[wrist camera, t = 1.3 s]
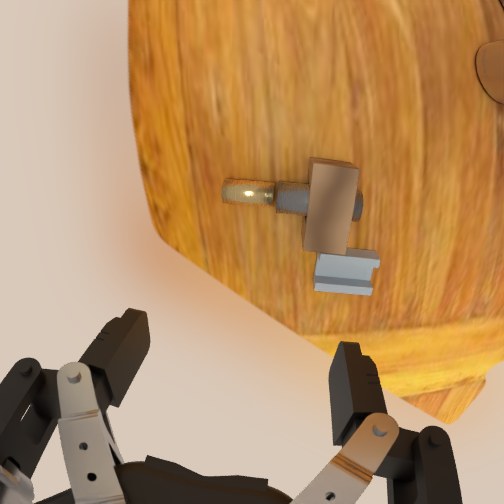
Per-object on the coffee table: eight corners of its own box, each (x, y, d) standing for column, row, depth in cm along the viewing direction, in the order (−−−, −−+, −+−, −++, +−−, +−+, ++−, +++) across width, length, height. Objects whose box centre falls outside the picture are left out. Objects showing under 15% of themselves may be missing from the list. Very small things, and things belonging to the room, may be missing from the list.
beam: (350, 162, 35) (359, 169, 30) (338, 237, 39) (345, 254, 34) (310, 157, 35) (313, 163, 30) (301, 233, 40) (302, 250, 35)
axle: (357, 187, 36) (364, 195, 33) (353, 216, 38) (359, 226, 34) (279, 178, 37) (278, 184, 34) (276, 207, 39) (275, 216, 35)
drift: (275, 181, 37) (274, 184, 35) (273, 204, 38) (271, 209, 36) (227, 177, 38) (222, 180, 35) (226, 200, 39) (221, 205, 36)
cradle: (375, 250, 39) (380, 259, 37) (366, 284, 42) (370, 295, 39) (318, 244, 40) (320, 253, 37) (312, 280, 42) (314, 290, 40)
